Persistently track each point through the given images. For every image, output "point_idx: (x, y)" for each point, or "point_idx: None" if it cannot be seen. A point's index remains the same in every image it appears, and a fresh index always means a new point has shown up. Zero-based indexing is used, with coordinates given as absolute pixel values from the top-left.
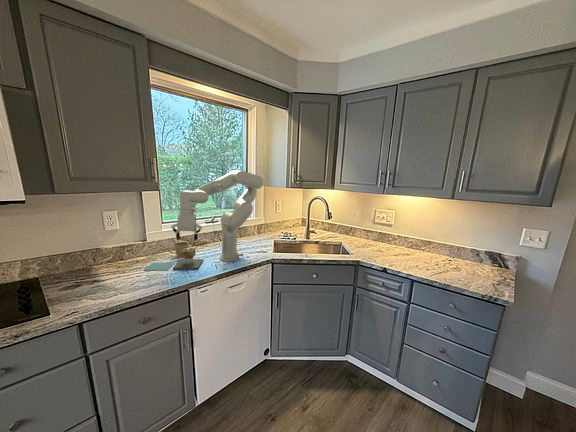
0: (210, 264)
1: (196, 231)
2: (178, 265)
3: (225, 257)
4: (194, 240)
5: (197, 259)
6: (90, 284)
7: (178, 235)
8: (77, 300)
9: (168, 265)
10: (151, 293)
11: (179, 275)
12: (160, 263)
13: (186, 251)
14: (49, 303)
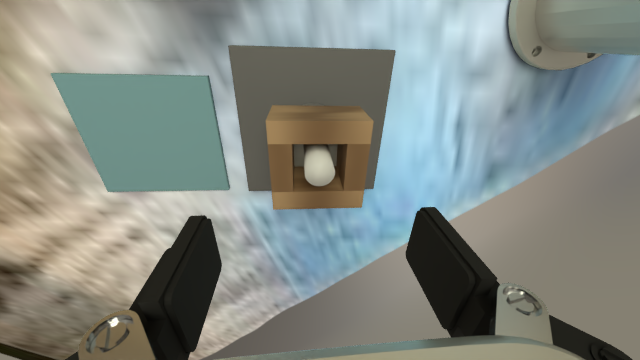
0: (432, 110)
1: (521, 331)
2: (265, 162)
3: (556, 44)
4: (409, 259)
5: (356, 57)
6: (22, 289)
7: (201, 322)
8: None
9: (197, 131)
10: (264, 320)
11: (302, 230)
12: (123, 95)
13: (315, 207)
14: (49, 355)
